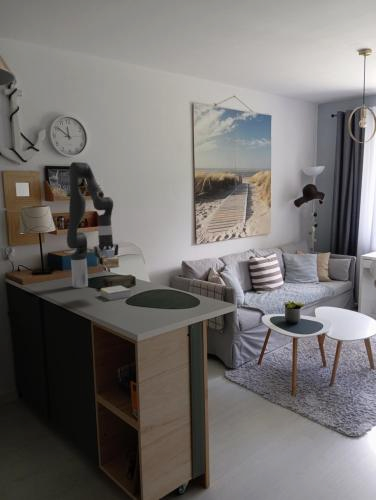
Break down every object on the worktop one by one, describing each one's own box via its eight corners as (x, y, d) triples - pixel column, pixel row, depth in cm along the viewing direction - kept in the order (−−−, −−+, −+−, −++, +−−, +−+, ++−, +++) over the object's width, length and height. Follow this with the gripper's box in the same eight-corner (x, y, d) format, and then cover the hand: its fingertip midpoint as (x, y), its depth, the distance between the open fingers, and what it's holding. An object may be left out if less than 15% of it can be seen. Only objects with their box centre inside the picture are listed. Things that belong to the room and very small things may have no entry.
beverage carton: (136, 286, 250) (136, 275, 249) (106, 290, 240) (106, 279, 239) (131, 283, 257) (130, 273, 256) (102, 288, 247) (101, 277, 246)
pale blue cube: (104, 257, 222) (104, 250, 222) (111, 256, 224) (111, 249, 224) (107, 258, 219) (107, 250, 218) (114, 257, 221) (114, 250, 221)
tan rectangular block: (99, 265, 228) (98, 256, 227) (109, 263, 231) (108, 255, 230) (108, 268, 216) (107, 259, 215) (118, 267, 219) (118, 258, 218)
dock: (101, 295, 228) (100, 288, 227) (120, 292, 234) (120, 285, 234) (110, 300, 217) (109, 292, 217) (130, 296, 224) (130, 289, 223)
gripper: (115, 232, 230) (116, 261, 232) (90, 234, 222) (92, 264, 225) (120, 233, 224) (121, 263, 226) (94, 235, 216) (96, 266, 218)
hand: (107, 263), depth 225 cm, fingers closed on tan rectangular block, 6 cm apart
